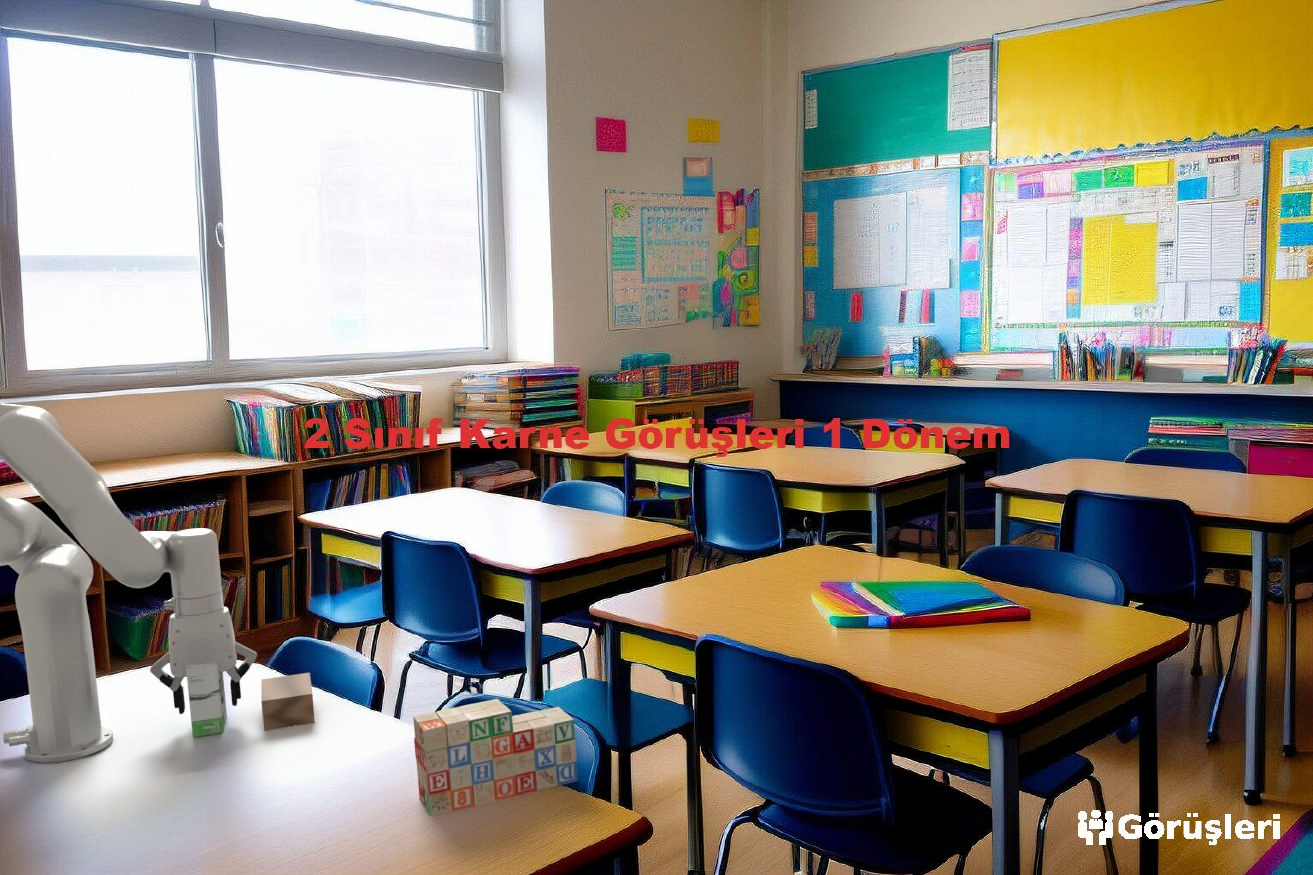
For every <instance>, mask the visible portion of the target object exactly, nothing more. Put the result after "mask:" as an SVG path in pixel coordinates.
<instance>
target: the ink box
mask: <svg viewBox="0 0 1313 875" xmlns="http://www.w3.org/2000/svg"><path fill="white" fill-rule="evenodd" d="M186 667H187V668H186V672H187V677H186V678H187V680H186V681H187V690H188V691H187V692H188V700H189V702H188V703H189V711H190V713H189V714H190V722H191V731H192V732H191V733H192V738H195V737H196V738H197V737H202V736H209V735H210V736H211V735H217V734H223V733H224V731H225V727H226V722H227V718H228V713H227V712H228V711H227V703H226V702H227V701H226V692H225V682H224V680H225V679H224V672H219V671H218V664H217V663H208V664H197V665H186Z"/></svg>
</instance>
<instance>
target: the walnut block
mask: <svg viewBox="0 0 1313 875" xmlns="http://www.w3.org/2000/svg"><path fill="white" fill-rule="evenodd" d="M312 689H313V688H312V680H311V673H310V672H304V673H298V674H292V675H290V674H289V675H283V676H276V677H269V678H262V679H261V694H260V695H261V710H262V712H261V713H262V723H263V731H264V732H265V731H271V730H278V729H284V728H289V727H288V726H291V727H295V726H294V725H297V726H303V725H308V724H310V725H311V724H315V722H316V720H315V711H314V710H315V709H314V697H313V690H312ZM283 727H284V728H283ZM277 728H278V729H277Z"/></svg>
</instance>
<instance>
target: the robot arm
mask: <svg viewBox="0 0 1313 875" xmlns="http://www.w3.org/2000/svg"><path fill="white" fill-rule="evenodd" d="M0 459H1V460H2V461H4V463H5V464H6V465H7V466H8V467H10V468H11V469H12V470H13V472H14V473H16V474H17V476H18V477H20V478H21V479H22V481H23V482H25V483H26V484H27V485H28V486H29V487H30V488H31V489H32V490H33V491H34V492H35V493H36V494H37V495H38V496H40V498H41V499H42V500H43V501H44V502H45V503H46V504H47V505H48V506H49V507H50V508H51V509H52V510H53V511H54V512H55V513H56V515H57V516H58V517H59V519H60V520H61V522H62V523H63V524H64V526H66V528H67V529H68V530H69V531H70V533H71V534H72V535H73V536H74V538H75V539H76V540H77V541H78V542H79V544H80V545H81V546H82V547H83V549H82V547H81V546H80V545H78V543H77V542H76V541H74V540H73V539H72V538H71V537H70V536H69V535H68V534H67V533H66V532H64V531H63V530H62V529H61V528H60V526H58V525H57V524H56V523H55V522H54V521H53V520H52V519H51V518H49V517H48V516H47V515H46V513H44V512H43V511H42V510H41V509H40V508H38V507H37V506H35V505H34V504H32V503H31V502H29V501H27V500H25V499H21V498H17V497H3V498H2V496H0V567H1V566H3V567H4V566H7V565H8V566H10V568H12V569H13V570H14V571H15V572H16V573H17V574H18V578H17V580H16V584H15V589H14V590H15V591H14V598H15V600H14V601H15V606H16V610H17V615H18V621H19V625H20V629H21V635H22V642H23V650H24V659H25V664H26V665H25V666H26V673H27V674H26V675H27V684H28V691H29V692H28V693H29V702H30V708H31V709H30V710H31V711H30V712H31V718H32V719H31V721H32V724H31V725H28V726H25V728H23V729H11V730H6V731H5V730H4V731H3V733H2V738H3V740H2V741H3V743H4V744H8V746H9V747H14V746H20V745H24V744H25V745H26V746H25V748H24V757H25V759H26V760H28V761H31V762H34V763H45V764H46V763H59V762H60V763H61V762H66V761H71V760H76V759H80V758H84V757H87V756H90V755H92V754H95V753H97V752H100V751H101V750H104V749H105V748H106V747H108V746H110V744H111V743H113V740H114V733H113V731H112V730H111V729H109V728H107V727H103V726H102V723H101V721H102V720H101V713H100V705H99V704H100V703H99V694H98V684H97V677H96V676H97V674H96V673H97V672H96V663H95V656H94V655H95V654H94V648H93V647H94V646H93V640H92V639H93V637H92V629H91V624H90V622H91V621H90V616H89V613H88V605H87V597H86V595H87V591H88V589H89V587H90V586H91V583H92V581H93V579H94V578H93V577H94V566H93V563H92V560H91V558H90V557H89V555H90V556H91V557H92V558H93V559H94V560H95V561H96V562H97V563H98V564H99V565H100V566H102V568H103V569H104V570H105V571H106V572H107V573H109V574H110V576H112V577H113V578H114V579H115V580H116V581H117V582H119V583H121V584H123V585H125V586H126V587H130V588H134V589H143V588H147V587H150V586H152V585H153V584H155V583H156V582H157V581H159V579H160V578H161V577H162V575H163V574H164V573H169V574H170V579H171V580H170V581H171V591H172V596H173V597H171V599H169V600H164V601H163V608H164V610H171V611H173V613H172V614H170V617H169V622H168V651H167V652H166V653H165V654H164V655H163V656H162V657H161V658H159V659H158V660H157V661H155V663H153V664H152V665H151V666H150V668H149V670H150V671H149V672H150V673H151V674H152V675H154V676H153V677H156V678H157V679H158V680H159V682H160V683H162V684H163V685H164V686H166V687H167V688H169V689H170V691H172V696H173V697H172V698H173V705H174V709H178V714H179V715H183V714H184V713H185V709H186V700H185V694H184V693H185V692H184V686H182V681H183V680H184V678H187V672H186V668H187V667H186V665H197V664H208V663H217V664H218V671H219V672H223V673H224V672H226V673H227V675H228V676H229V677H230V684H229V685H230V697H231V706H233V707H237V706H238V699H239V700H240V699H242V692H241V690H242V689H241V679H242V678H243V677H244V676H245V674H247V673H248V671H249V670H250V668H251V667H252V665H253V664H254V662H255V661H256V659H257V657H258V654H257V653H258V652H256V651H255V650H253V649H251V648H249V647H247V646H246V645H243V644H241V643H240V642H237V641H236V638H235V631H234V626H233V621H232V617H231V614H230V613H231V612H230V611H229V607H227V606H224V597H223V585H222V576H221V566H220V564H221V563H220V554H219V552H220V551H219V543H218V536H217V534H216V532H215V531H214V530H212V529H210V528H203V527H200V528H199V527H198V528H189V529H188V528H187V529H182V530H178V531H156V530H155V531H153V530H147V531H143V530H142V531H139V530H138V529H137V528H136V527H135V526H134V525H133V523H131V522H130V521H129V520H128V519H127V517H126V516H125V515H124V514H123V512H121V510H120V508H119V507H118V506H117V504H116V503H115V501H114V500H113V498H112V496H111V494H110V491H109V488H108V486H107V483H106V482H105V479H104V478H103V476H102V475H101V474H100V473H99V471H97V469H96V468H95V467H94V466H93V465H91V464H90V463H89V462H88V460H86V459H85V458H84V457H83V456H82V455H81V453H79V451H77V449H76V448H74V447H73V446H72V445H71V444H70V443H69V441H67V439H66V438H65V437H64V436H63V435H62V434H61V428H60V425H59V423H58V420H57V419H56V418H55V417H54V415H52V414H51V413H50V412H49V411H47V410H45V409H44V408H41V407H38V406H33V405H22V404H12V403H2V402H1V403H0ZM84 549H85V551H86V552H87V553H88V554H89V555H88V554H87V553H86V552H85V551H84ZM237 654H239V655H241V656H243V657H245V659H244V661H243V662H242V663H241V664H240V665H239V667H237V661H238V660H237V659H238V658H237V657H238V655H237ZM167 664H169V668H170V672H171V675H172V676H171V675H170V674H168V673H167V672H165V671H164V669H163V668H165V666H166V665H167Z"/></svg>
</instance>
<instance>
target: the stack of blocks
mask: <svg viewBox="0 0 1313 875" xmlns="http://www.w3.org/2000/svg"><path fill="white" fill-rule="evenodd" d="M512 713H513V712H512V711H511V709H510V708H509V707H508V706H507V705H505V704H504V703H503V702H501V701H500V699H498V698H494V699H490V700H489V699H488V700H485V701H480V702H476V703H470V704H465V705H461V706H457V707H452V708H447V709H442V710H438V711H437V710H436V711H430V712H426V713H422V714H416V715H413V716H412V719H413V729H414V738H413V740H414V742H413V743H414V753H415V754H414V755H415V760H416V771H417V785H418V786H417V787H418V797H419V800H420V802H421V804H422V805H423V807H424V808H425V810H426V811H427V812H428V814H429V816H436V815H440V814H445V813H449V812H455V811H459V810H462V809H464V810H465V809H468V808H472V807H474V806H475V807H476V806H481V805H484V804H490V803H493V802H496V801H500V800H504V799H507V798H508V799H509V798H513V797H516V796H520V795H524V794H528V793H533V792H536V791H543V790H545V789H550V788H551V789H552V788H554V787H558V786H562V785H564V786H565V785H567V784H571V783H575V782H578V765H577V764H578V762H577V743H576V733H575V730H576V729H575V720H574V718H572V716H570V715H569V714H568V713H567V712H565V711H564V710H563V709H562V708H561V707H560V706H556V707H551V708H550V707H549V708H547V709H541V710H536V711H530V712H526V713H521V714H515V715H513V714H512Z"/></svg>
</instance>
